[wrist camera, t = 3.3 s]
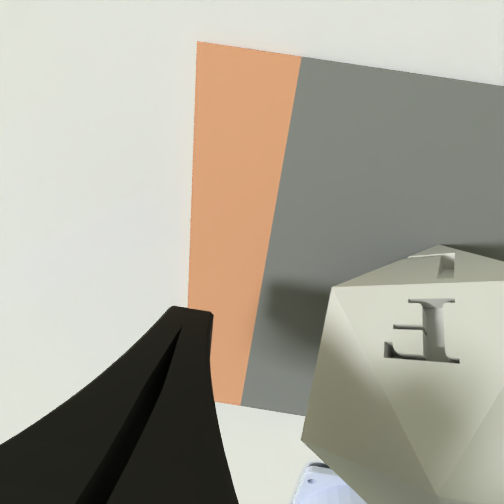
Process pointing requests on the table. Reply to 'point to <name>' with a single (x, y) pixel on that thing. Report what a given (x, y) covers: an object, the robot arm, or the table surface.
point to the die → (414, 381)
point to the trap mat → (324, 199)
